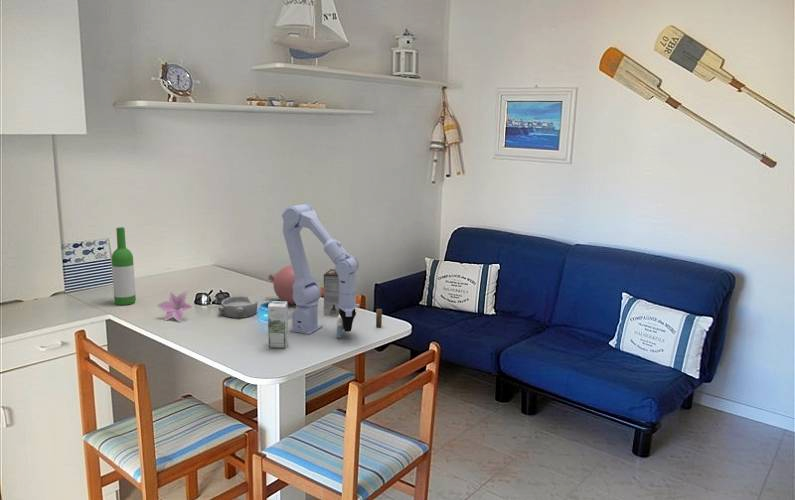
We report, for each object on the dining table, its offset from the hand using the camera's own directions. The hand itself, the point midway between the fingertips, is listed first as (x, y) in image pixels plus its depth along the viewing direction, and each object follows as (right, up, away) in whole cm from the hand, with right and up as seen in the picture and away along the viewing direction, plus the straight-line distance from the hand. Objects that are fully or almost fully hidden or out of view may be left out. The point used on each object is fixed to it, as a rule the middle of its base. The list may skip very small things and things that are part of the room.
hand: (347, 330), depth 221 cm
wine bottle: (-90, +7, +32) cm, 96 cm away
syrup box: (-22, -4, -10) cm, 24 cm away
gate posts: (+4, 0, +10) cm, 11 cm away
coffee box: (-7, +3, +26) cm, 28 cm away
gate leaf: (-3, -1, +2) cm, 4 cm away
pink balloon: (-27, +6, +38) cm, 47 cm away
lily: (-64, +2, +15) cm, 66 cm away
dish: (-43, +3, +23) cm, 49 cm away
